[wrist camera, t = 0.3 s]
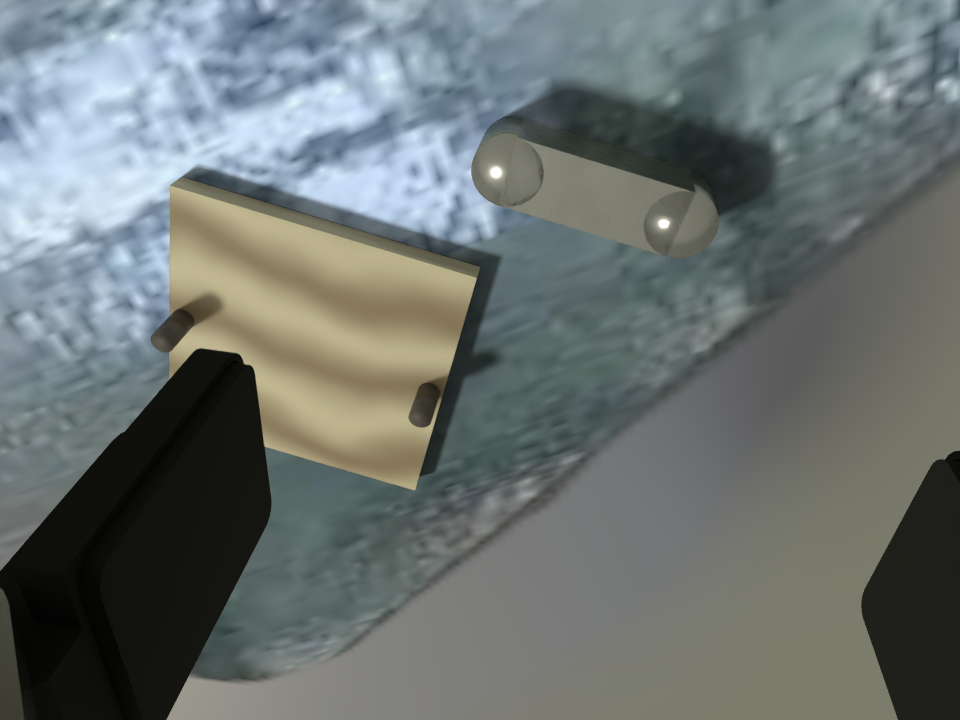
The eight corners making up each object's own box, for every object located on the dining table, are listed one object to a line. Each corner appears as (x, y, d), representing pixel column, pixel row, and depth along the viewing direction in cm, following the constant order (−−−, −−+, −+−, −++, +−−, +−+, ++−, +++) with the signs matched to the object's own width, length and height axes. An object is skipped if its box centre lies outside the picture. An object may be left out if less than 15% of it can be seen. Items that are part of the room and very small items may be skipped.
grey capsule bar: (490, 107, 42) (481, 126, 39) (723, 179, 43) (731, 203, 40) (473, 172, 45) (463, 194, 42) (694, 239, 45) (700, 266, 42)
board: (181, 176, 48) (145, 204, 44) (480, 266, 48) (469, 301, 44) (178, 406, 59) (149, 443, 56) (418, 477, 60) (406, 518, 56)
